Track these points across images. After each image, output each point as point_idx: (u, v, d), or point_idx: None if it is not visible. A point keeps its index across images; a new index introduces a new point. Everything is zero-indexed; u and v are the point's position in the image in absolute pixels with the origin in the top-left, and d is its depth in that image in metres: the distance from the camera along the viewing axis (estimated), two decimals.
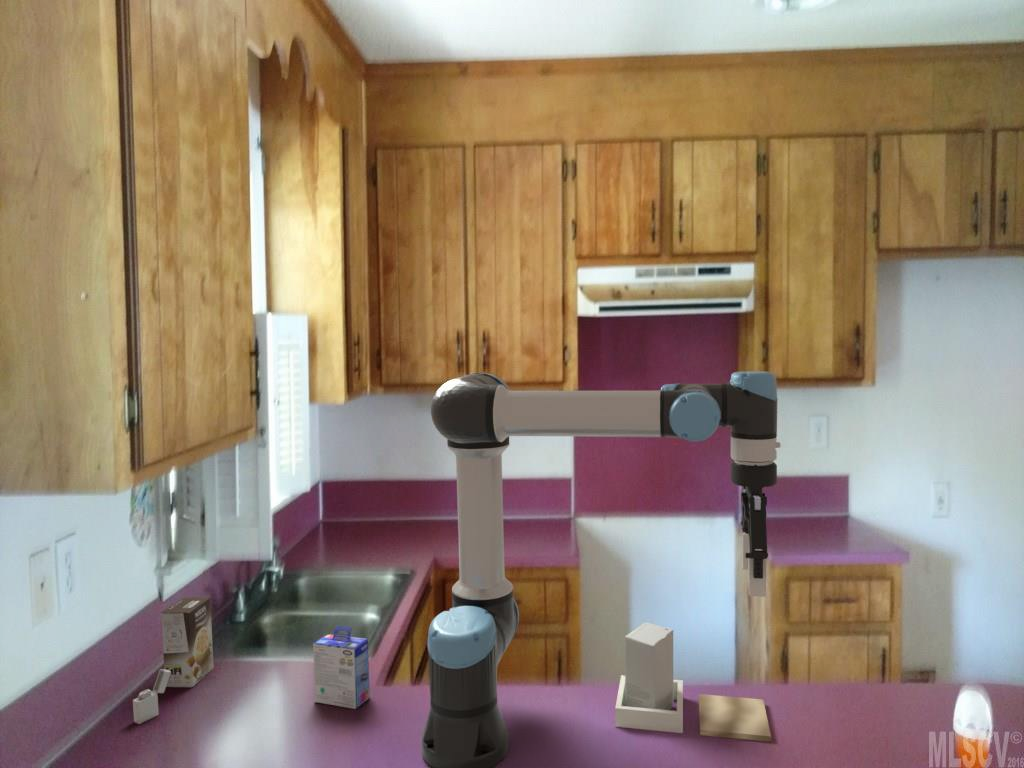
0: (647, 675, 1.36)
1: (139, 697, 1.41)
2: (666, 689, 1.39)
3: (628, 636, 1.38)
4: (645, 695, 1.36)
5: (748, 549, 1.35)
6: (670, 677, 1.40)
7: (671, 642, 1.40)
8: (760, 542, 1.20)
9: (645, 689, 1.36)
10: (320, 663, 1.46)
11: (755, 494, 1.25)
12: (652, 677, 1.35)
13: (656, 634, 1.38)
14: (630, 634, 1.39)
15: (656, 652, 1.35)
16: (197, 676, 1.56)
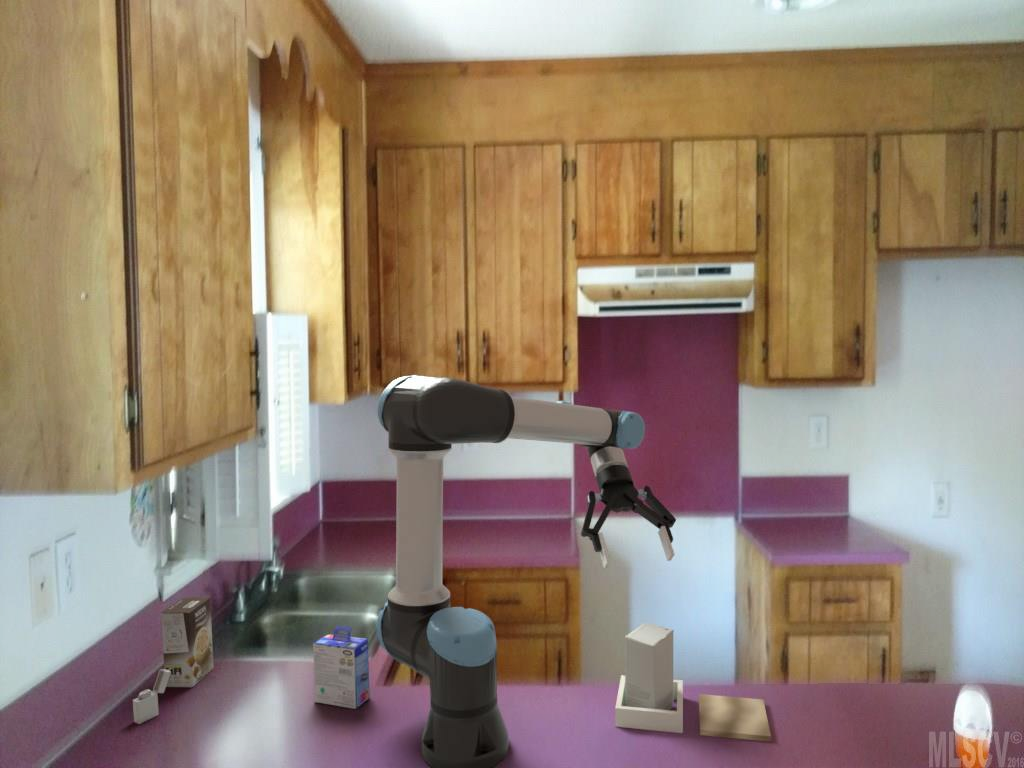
0: (647, 675, 1.36)
1: (139, 697, 1.41)
2: (666, 689, 1.39)
3: (628, 636, 1.38)
4: (645, 695, 1.36)
5: None
6: (670, 677, 1.40)
7: (671, 642, 1.40)
8: None
9: (645, 689, 1.36)
10: (320, 663, 1.46)
11: None
12: (652, 677, 1.35)
13: (656, 634, 1.38)
14: (630, 634, 1.39)
15: (656, 652, 1.35)
16: (197, 676, 1.56)
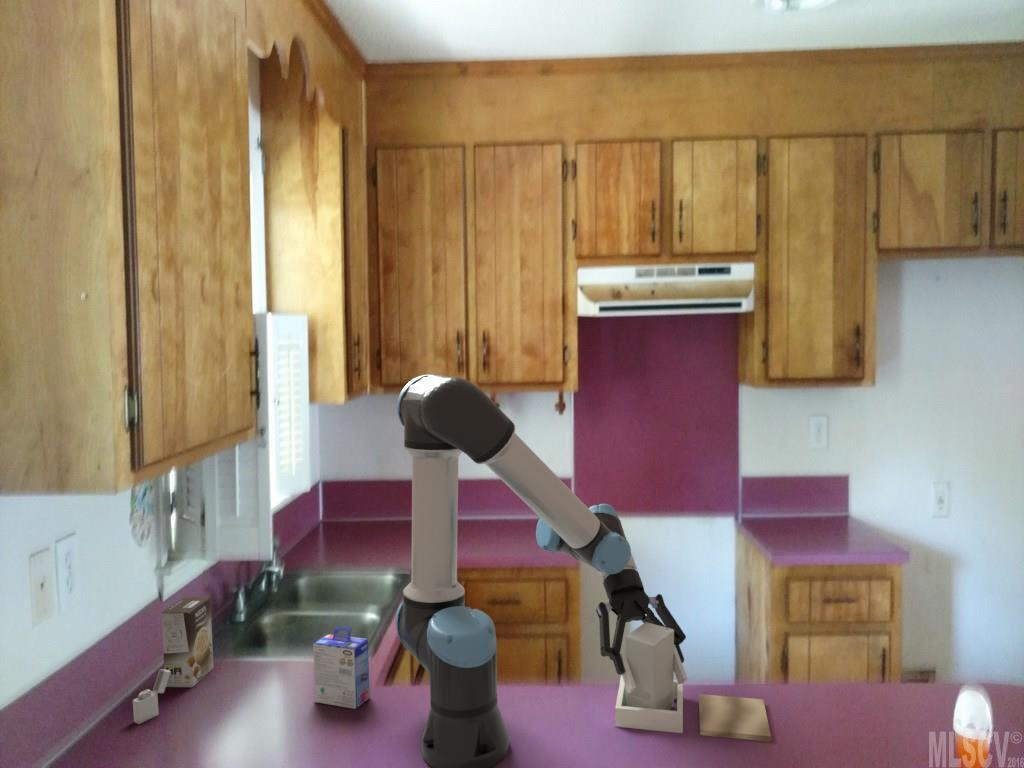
0: (647, 675, 1.36)
1: (139, 697, 1.41)
2: (667, 689, 1.39)
3: (629, 636, 1.38)
4: (645, 694, 1.36)
5: None
6: (670, 677, 1.40)
7: (672, 642, 1.40)
8: None
9: (646, 689, 1.36)
10: (320, 663, 1.46)
11: None
12: (653, 676, 1.35)
13: (657, 634, 1.38)
14: (631, 634, 1.39)
15: (657, 652, 1.35)
16: (197, 676, 1.56)
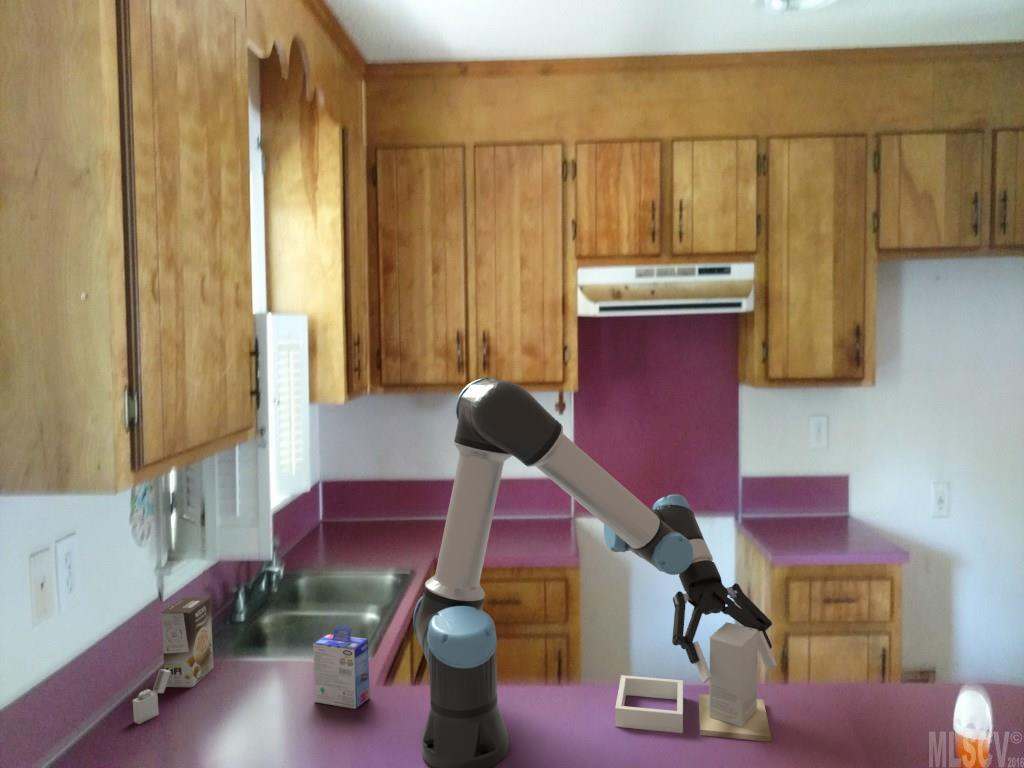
0: (734, 677, 1.32)
1: (139, 697, 1.41)
2: (752, 690, 1.35)
3: (713, 636, 1.34)
4: (731, 697, 1.33)
5: None
6: (755, 678, 1.37)
7: (756, 642, 1.36)
8: None
9: (732, 691, 1.33)
10: (320, 663, 1.46)
11: None
12: (740, 678, 1.32)
13: (741, 635, 1.35)
14: (715, 634, 1.35)
15: (744, 653, 1.32)
16: (197, 676, 1.56)
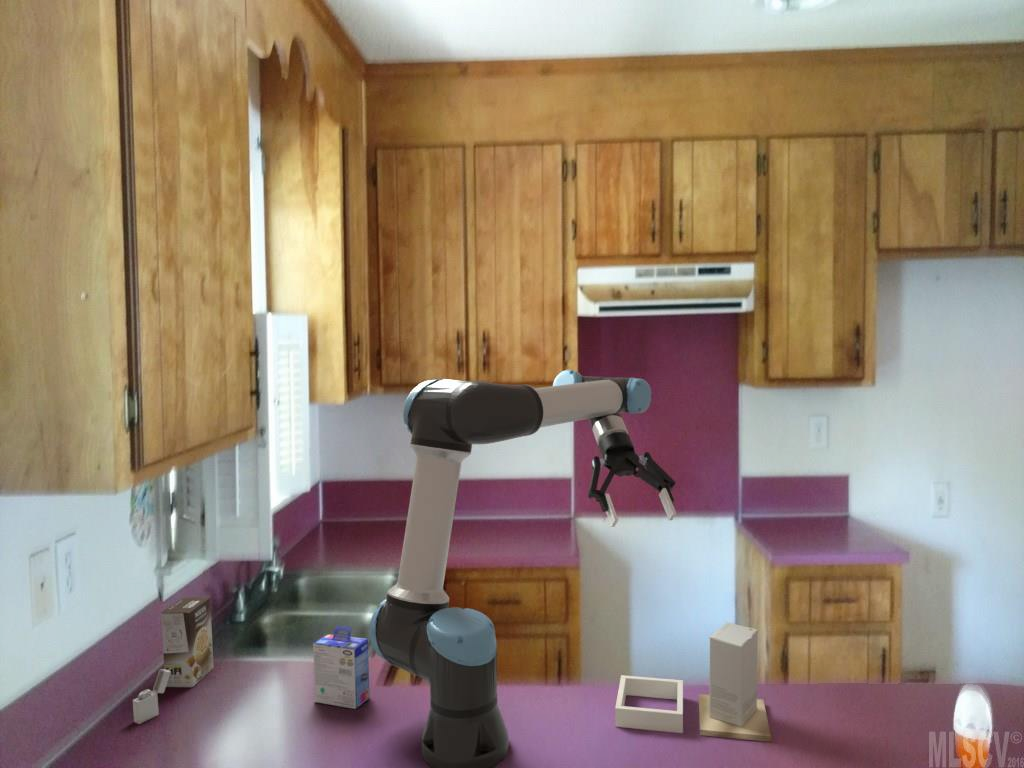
0: (734, 677, 1.32)
1: (139, 697, 1.41)
2: (752, 690, 1.35)
3: (713, 636, 1.35)
4: (731, 697, 1.33)
5: None
6: (755, 678, 1.37)
7: (756, 642, 1.36)
8: None
9: (732, 691, 1.33)
10: (320, 663, 1.46)
11: None
12: (740, 678, 1.32)
13: (741, 635, 1.35)
14: (714, 634, 1.35)
15: (744, 653, 1.32)
16: (197, 676, 1.56)
